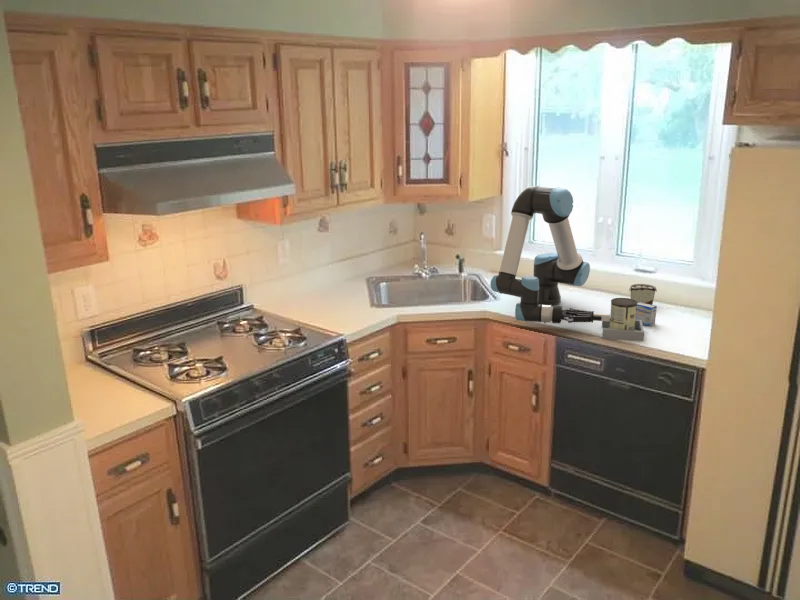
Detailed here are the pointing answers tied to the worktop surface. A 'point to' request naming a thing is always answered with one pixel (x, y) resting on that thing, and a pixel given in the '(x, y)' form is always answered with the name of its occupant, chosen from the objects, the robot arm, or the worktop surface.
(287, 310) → the worktop surface
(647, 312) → the medicine box
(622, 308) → the coffee can
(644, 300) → the food container
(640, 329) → the frame
